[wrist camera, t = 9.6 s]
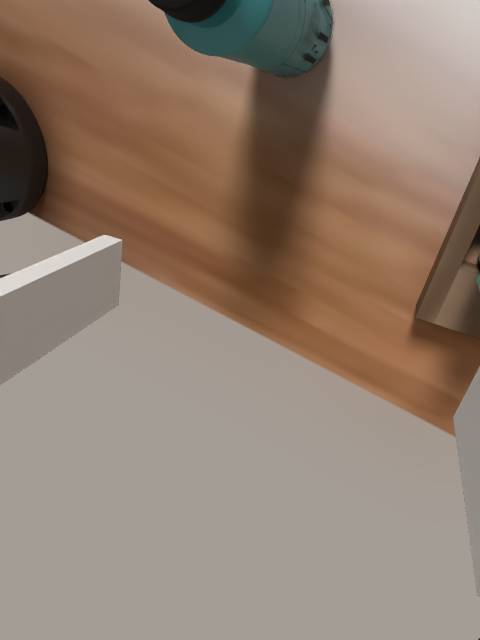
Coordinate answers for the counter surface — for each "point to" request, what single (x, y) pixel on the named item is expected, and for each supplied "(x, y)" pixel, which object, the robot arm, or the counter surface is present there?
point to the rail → (456, 271)
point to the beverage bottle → (254, 30)
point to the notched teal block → (478, 276)
